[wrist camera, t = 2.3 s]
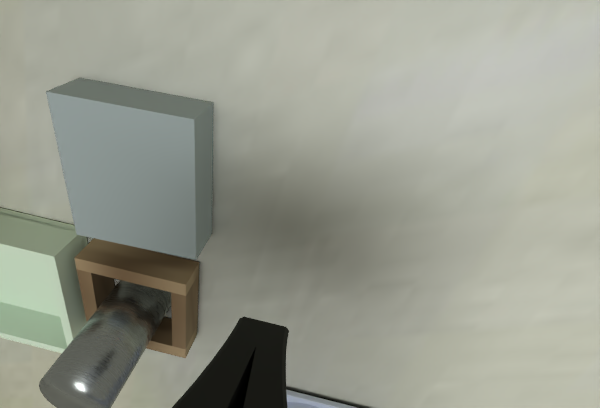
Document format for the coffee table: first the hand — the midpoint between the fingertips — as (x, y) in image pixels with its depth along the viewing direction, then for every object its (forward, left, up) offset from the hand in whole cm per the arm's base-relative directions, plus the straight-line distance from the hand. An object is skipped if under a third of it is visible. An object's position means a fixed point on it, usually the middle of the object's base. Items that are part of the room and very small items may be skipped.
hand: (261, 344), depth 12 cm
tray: (+15, +9, -8) cm, 20 cm away
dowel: (+8, +9, -8) cm, 14 cm away
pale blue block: (+7, 0, -9) cm, 12 cm away
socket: (+8, +9, -8) cm, 14 cm away
